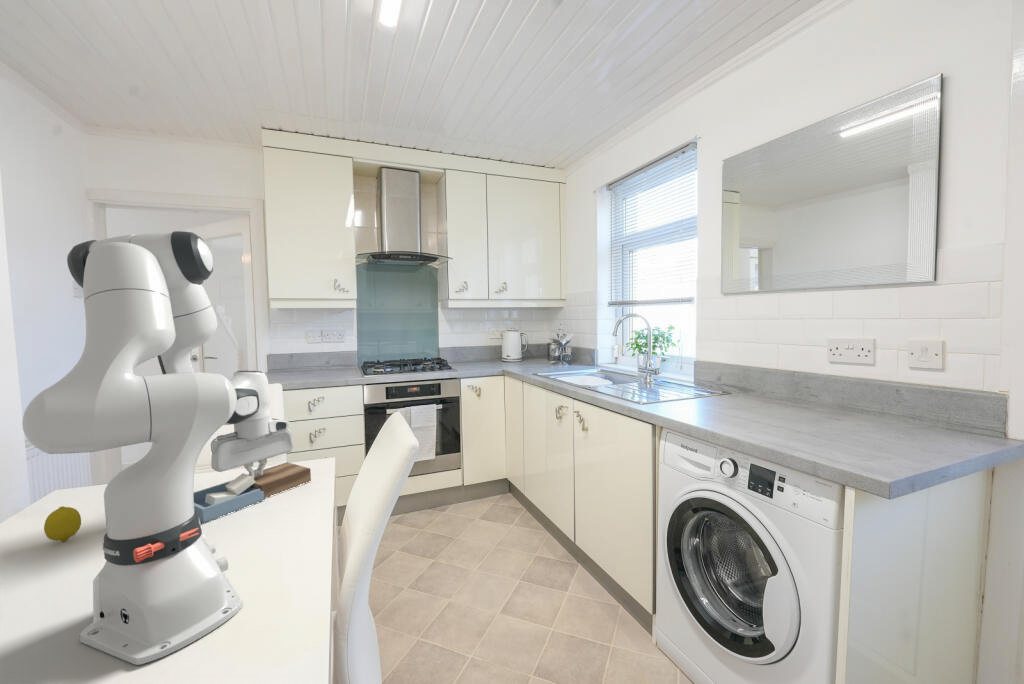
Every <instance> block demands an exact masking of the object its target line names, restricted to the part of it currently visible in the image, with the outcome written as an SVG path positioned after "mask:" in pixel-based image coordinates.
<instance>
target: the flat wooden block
mask: <svg viewBox="0 0 1024 684" xmlns="http://www.w3.org/2000/svg"><path fill="white" fill-rule="evenodd" d="M311 474H312V473H311V468H310V467H307V466H306V467H305V466H303V465H299V464H296V463H292V462H288V461H287V462H284V463H281V464H277V465H275V466H271V467H267V468H264V469H263V475H262V476H259V477H256V478H254V480H255V483H254V484H253V485H251V486H250V487H252V488H255V489H261V491H263V492H264V498H266V497H269V496H271V495H274V494H277V493H280V492H282V491H285V490H288V489H290V488H293V487H296V486H298V485H300V484H303V483H306V482H309V481H311V482H312V477H311ZM309 483H310V482H309ZM306 484H307V483H306ZM298 487H299V486H298ZM296 488H297V487H296ZM293 489H294V488H293ZM290 490H291V489H290ZM288 491H289V490H288ZM285 492H286V491H285ZM282 493H283V492H282ZM280 494H281V493H280ZM277 495H278V494H277ZM274 496H275V495H274ZM269 498H270V497H269Z"/></svg>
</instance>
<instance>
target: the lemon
mask: <svg viewBox="0 0 1024 684" xmlns="http://www.w3.org/2000/svg"><path fill="white" fill-rule="evenodd" d="M81 526H82V516H81V514H80V512H79V511H78V510H77V509H76V508H73V507H71V506H59V507H58V508H57V509H55V510H53V511H52V512H51V513H49V514H48V515H47V517H46V519H45V521H44V524H43V531H44V534H45V536H46V537H47V539H49V540H51V541H54V542H55V541H58V542H61V543H65V542H67V541H68V540H69V539H70V538H71V537H73V536H75V535H76V534H77V533H78V531H79V530H80V529H81Z"/></svg>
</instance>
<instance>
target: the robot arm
mask: <svg viewBox="0 0 1024 684" xmlns="http://www.w3.org/2000/svg"><path fill="white" fill-rule="evenodd" d="M66 261H67V262H66V263H67V266H68V270H69V273H70V275H71V276H72V278H73V279H74V281H75V283H77V285H78V286H79V287H81V288H82V289H83V290H82V291H83V294H82V295H83V305H84V315H85V343H84V348H83V351H82V354H81V356H80V357H79V359H78V360H77V361H78V362H77V363H76V364H75V365H74V366H73V368H72V369H71V370H69V372H68V373H67V374H65V376H63V377H62V378H61V379H60V380H58V381H57V382H55V383H54V384H52V385H51V386H49V387H47V388H45V389H43V390H42V391H40V392H39V393H38V394H37V395H36V396H34V398H32V400H31V401H30V402H29V403H28V405H27V406H26V409H25V411H24V412H23V415H22V430H23V433H24V435H25V437H26V438H27V440H28V441H29V443H30V444H31V445H33V447H34V448H36V449H37V450H39V451H41V452H43V453H45V454H47V455H58V454H59V455H62V454H63V455H64V454H66V455H67V454H81V453H84V454H85V453H94V452H100V451H106V450H111V449H116V448H122V447H127V446H128V447H129V446H133V445H138V444H144V443H152V444H151V447H150V449H149V450H148V452H147V453H146V454H144V455H145V456H143V457H142V458H141V459H140V460H138V461H136V462H134V463H133V464H131V465H129V466H127V467H126V468H124V469H122V470H121V471H120V472H118V473H117V474H115V476H113V477H112V478H111V479H110V480H109V482H108V483H107V485H106V486H105V489H104V492H103V503H104V504H103V505H104V515H105V527H106V532H105V534H104V536H103V543H102V551H103V555H104V560H105V561H106V562H105V563H104V565H103V567H102V569H101V570H100V571H99V572H98V573H97V575H96V576H95V577H94V579H93V581H92V600H93V601H92V603H93V605H92V606H93V608H92V609H93V610H92V612H93V618H92V619H93V621H92V622H91V623H90V624H89V625H87V626H86V627H85V628H84V629H83V630H82V631H80V634H79V642H80V643H82V644H85V645H87V646H90V647H92V648H95V649H97V650H99V651H101V652H103V653H106V654H108V655H111V656H113V657H116V658H117V659H121V660H122V661H125V662H128V663H129V664H132V665H136V666H137V665H138V666H140V665H145V664H146V663H150V662H152V661H157V660H158V659H160V658H164V657H165V656H168V655H170V654H172V653H174V652H176V651H178V650H180V649H183V648H184V647H186V646H188V645H190V644H192V643H193V642H196V641H197V640H199V639H201V638H202V637H205V636H206V635H207V634H209V633H210V632H213V631H214V630H215V629H217V628H218V627H220V626H221V625H223V624H224V623H225V622H227V621H228V620H230V619H231V618H232V617H234V615H236V614H237V613H238V612H239V611H240V610H241V609H242V607H243V605H244V603H243V599H242V597H241V596H240V595H239V593H238V591H237V590H236V589H235V587H234V586H233V584H232V583H231V581H230V579H229V578H228V577H227V575H226V573H224V572H226V571H228V570H229V563H228V559H227V557H225V556H222V557H221V558H217V559H216V558H215V556H214V554H215V553H216V552H217V551H216V550H217V549H216V546H215V544H214V545H213V544H212V545H209V544H208V541H207V540H206V539H205V538H206V536H205V534H202V533H203V530H202V528H201V527H202V526H201V524H202V523H201V522H200V519H199V517H198V514H197V511H196V510H195V509H194V492H195V491H194V488H195V487H194V485H195V484H194V482H195V481H194V480H195V471H196V465H197V462H198V460H199V457H200V455H201V452H202V451H203V449H204V447H205V446H206V444H207V442H208V441H209V440H210V439H211V437H212V436H213V435H214V434H216V432H217V431H218V430H219V429H220V428H222V427H223V426H230V425H233V428H234V429H233V430H234V431H233V432H230V433H226V434H221V435H217V436H216V438H214V439H212V441H211V442H210V450H211V451H210V452H211V458H210V459H211V460H210V461H211V463H210V466H211V469H212V470H213V471H215V472H219V473H223V472H226V471H230V470H232V469H236V468H240V467H242V466H243V468H245V470H246V471H247V472H248V475H249V476H252V477H253V478H256V477H259V476H262V475H263V470H264V469H265V467H266V465H267V463H268V459H270V458H273V457H277V456H281V455H283V454H288V453H290V452H292V451H293V449H294V438H293V433H292V431H291V429H289V428H290V427H291V425H290V421H288V420H284V419H279V418H272V412H271V410H270V403H271V393H270V385H269V380H268V377H267V375H266V373H265V372H263V371H261V370H236V371H234V372H233V374H232V375H233V376H232V377H231V379H228V378H227V377H226V376H224V375H223V374H222V373H215V372H203V371H202V372H201V371H199V372H198V371H195V370H194V367H193V364H192V359H191V353H192V352H193V350H194V349H196V348H198V347H200V346H202V345H204V344H205V343H207V342H209V340H210V339H212V337H213V336H214V334H216V331H217V329H218V317H217V315H216V312H215V310H214V306H213V304H212V303H211V300H210V298H209V296H208V294H207V291H206V289H205V287H204V286H203V284H204V282H205V281H206V280H208V278H210V276H211V275H212V274H213V271H214V258H213V254H212V251H211V249H210V247H208V245H207V244H206V242H205V241H204V239H202V237H201V236H199V235H197V234H196V233H194V232H192V231H182V230H181V231H180V230H178V231H177V230H174V231H173V232H157V233H156V232H155V233H140V234H134V233H132V234H126V235H118V236H114V237H113V236H112V237H108V238H104V239H100V240H95V239H91V240H87V241H83V242H81V243H77V244H76V245H74V246H72V248H71V250H70V251H69V252H68V253H67V260H66ZM156 357H157V360H158V364H159V367H160V370H161V374H151V375H137V374H134V370H135V368H136V367H138V366H139V365H141V364H142V363H145V362H148V361H151V359H154V358H156ZM256 462H257V463H259V464H258V466H257V468H256V469H253V468H252V467H254V463H256Z"/></svg>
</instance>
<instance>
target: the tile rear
mask: <svg viewBox="0 0 1024 684" xmlns="http://www.w3.org/2000/svg"><path fill="white" fill-rule="evenodd" d="M232 480H233V481H232ZM232 480H230V481H231V482H230V483H228V484H227V485H226V486H225V487H226V488H227V490H228V492H231V493H233V494H236V495H239V494H240V493H242V492H243V491H244V490H246V489H247V488H249V487H250V486H251V485H253V484H254V483H255V480H254V478H253V477H252V476H249V474H246V473H241V474H240V475H239V476H237V477H236V478H234V479H232Z"/></svg>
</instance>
